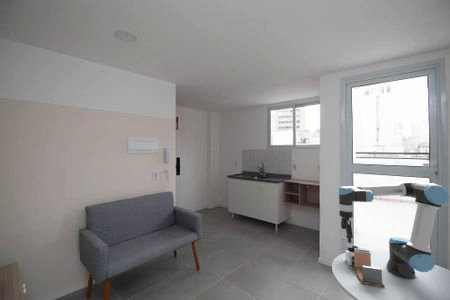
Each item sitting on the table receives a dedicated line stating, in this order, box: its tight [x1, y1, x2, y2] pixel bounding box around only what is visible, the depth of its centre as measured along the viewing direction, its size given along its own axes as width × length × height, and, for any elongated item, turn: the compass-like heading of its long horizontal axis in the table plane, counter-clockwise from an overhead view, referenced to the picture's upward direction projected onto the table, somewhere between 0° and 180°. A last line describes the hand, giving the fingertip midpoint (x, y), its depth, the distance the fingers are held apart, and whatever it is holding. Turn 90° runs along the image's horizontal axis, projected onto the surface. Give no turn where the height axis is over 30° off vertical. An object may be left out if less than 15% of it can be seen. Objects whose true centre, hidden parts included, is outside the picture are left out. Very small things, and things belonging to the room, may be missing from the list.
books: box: [354, 248, 372, 268], centre depth 143 cm, size 10×2×12 cm, turn 72°
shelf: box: [351, 264, 385, 288], centre depth 135 cm, size 12×21×2 cm, turn 162°
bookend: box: [362, 265, 383, 284], centre depth 127 cm, size 10×2×9 cm, turn 72°
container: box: [345, 244, 359, 266], centre depth 151 cm, size 8×8×13 cm
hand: (346, 242), depth 132 cm, fingers open, 13 cm apart
